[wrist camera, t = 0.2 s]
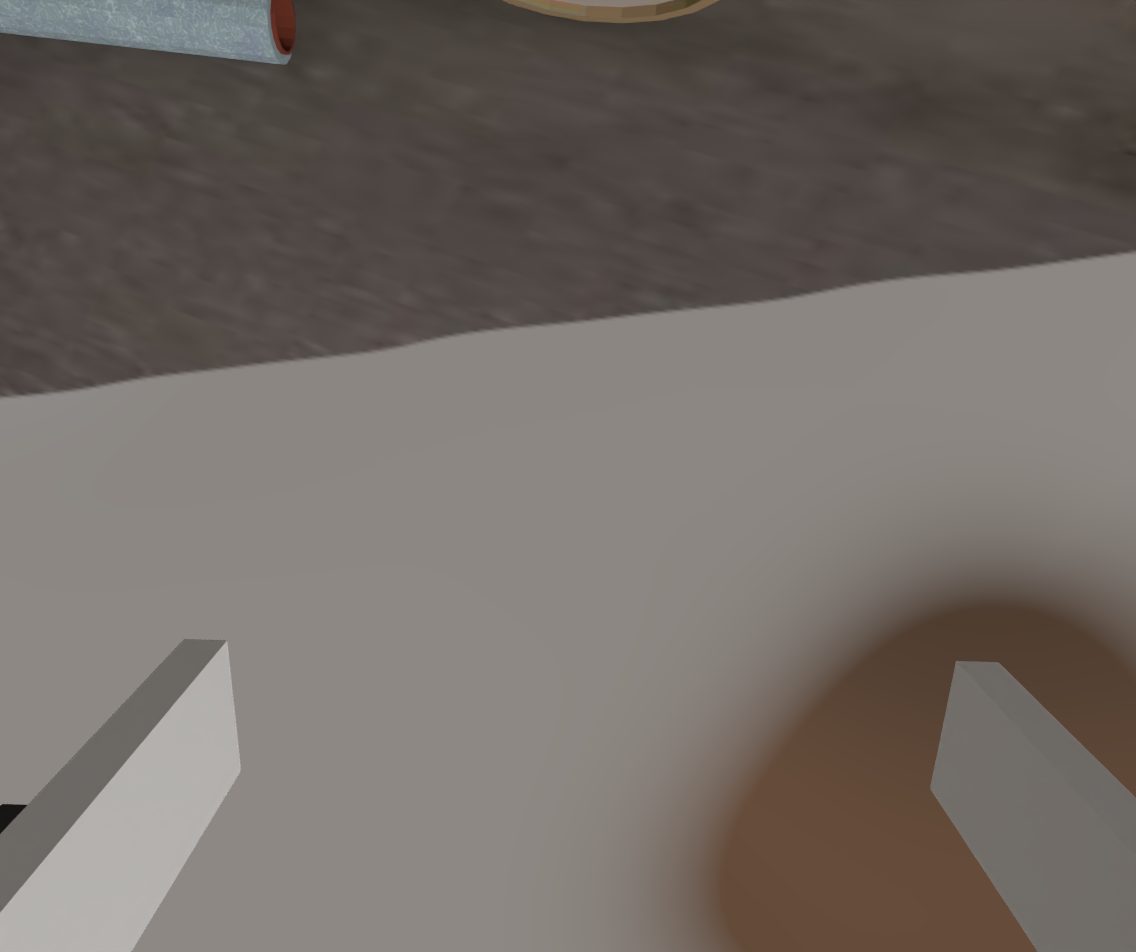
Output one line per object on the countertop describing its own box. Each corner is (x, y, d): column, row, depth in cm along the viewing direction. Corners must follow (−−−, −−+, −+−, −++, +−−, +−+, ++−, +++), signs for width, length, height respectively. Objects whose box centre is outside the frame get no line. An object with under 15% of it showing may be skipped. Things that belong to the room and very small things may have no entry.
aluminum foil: (298, -12, 35) (271, -37, 32) (298, 149, 37) (272, 140, 34) (-222, -72, 34) (-305, -105, 31) (-194, 95, 36) (-270, 80, 33)
